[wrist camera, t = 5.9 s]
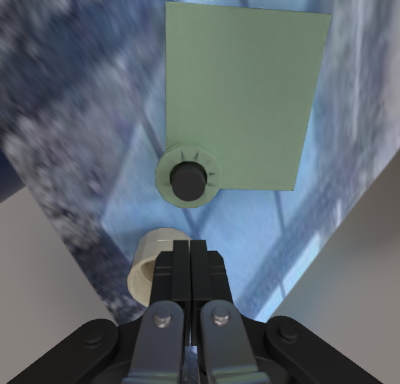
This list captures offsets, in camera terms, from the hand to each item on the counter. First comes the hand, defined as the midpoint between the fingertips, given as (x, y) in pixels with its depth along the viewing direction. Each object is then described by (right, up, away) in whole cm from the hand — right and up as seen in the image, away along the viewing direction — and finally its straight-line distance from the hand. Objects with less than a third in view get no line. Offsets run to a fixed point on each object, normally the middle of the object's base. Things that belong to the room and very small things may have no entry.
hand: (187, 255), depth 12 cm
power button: (0, +4, +10) cm, 11 cm away
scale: (+4, +10, +10) cm, 15 cm away
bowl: (-3, -3, +16) cm, 16 cm away
